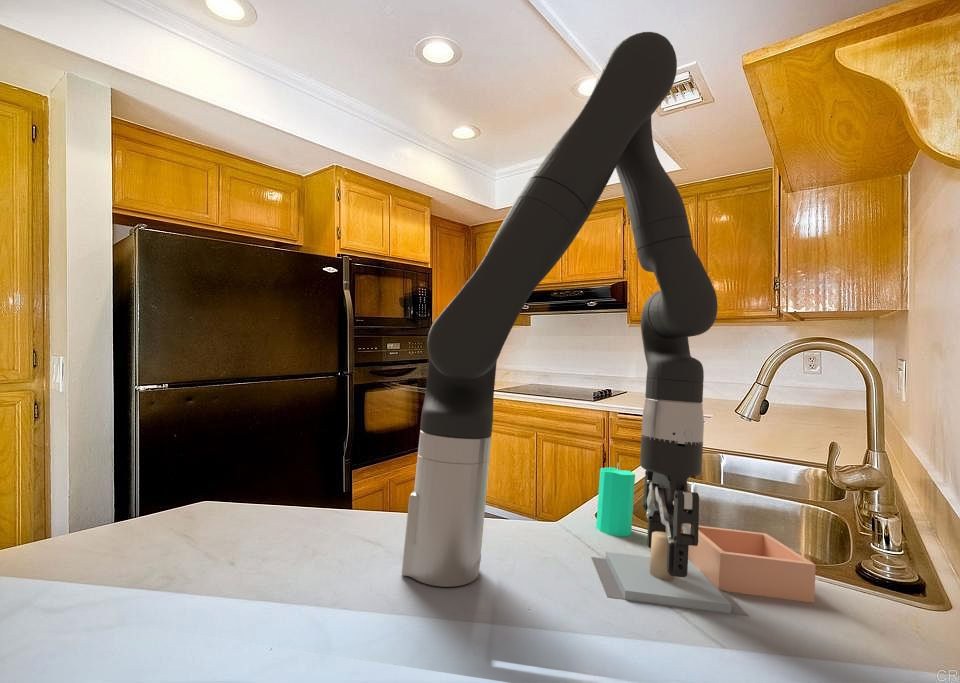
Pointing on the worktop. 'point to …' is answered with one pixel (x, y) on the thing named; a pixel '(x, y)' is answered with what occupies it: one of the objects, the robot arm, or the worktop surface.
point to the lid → (664, 580)
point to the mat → (615, 592)
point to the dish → (752, 564)
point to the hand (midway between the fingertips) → (665, 561)
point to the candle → (615, 501)
